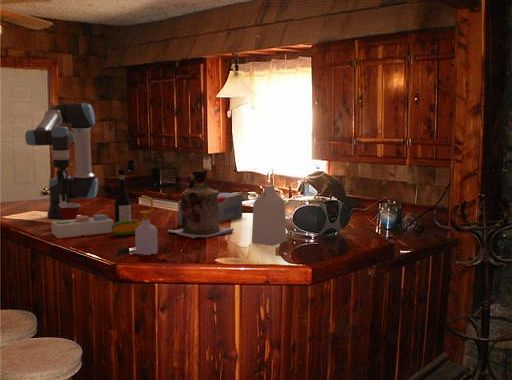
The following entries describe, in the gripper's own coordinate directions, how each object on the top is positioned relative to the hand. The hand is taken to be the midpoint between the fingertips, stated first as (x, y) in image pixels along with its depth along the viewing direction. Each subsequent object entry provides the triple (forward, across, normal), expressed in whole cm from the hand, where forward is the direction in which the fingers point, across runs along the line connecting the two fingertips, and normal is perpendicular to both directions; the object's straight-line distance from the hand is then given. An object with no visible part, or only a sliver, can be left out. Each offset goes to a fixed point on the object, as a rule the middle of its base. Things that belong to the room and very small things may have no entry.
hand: (63, 207), depth 274 cm
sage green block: (+12, 0, 0) cm, 12 cm away
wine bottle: (+14, -7, +32) cm, 35 cm away
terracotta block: (+11, 0, +9) cm, 14 cm away
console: (+14, 0, +9) cm, 16 cm away
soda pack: (+14, +5, +78) cm, 80 cm away
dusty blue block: (+11, 0, +18) cm, 21 cm away
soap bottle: (+13, +57, +20) cm, 62 cm away
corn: (+14, +16, +28) cm, 35 cm away
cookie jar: (+14, +31, +58) cm, 68 cm away
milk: (+13, +66, +76) cm, 102 cm away
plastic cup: (+14, -20, +8) cm, 25 cm away
